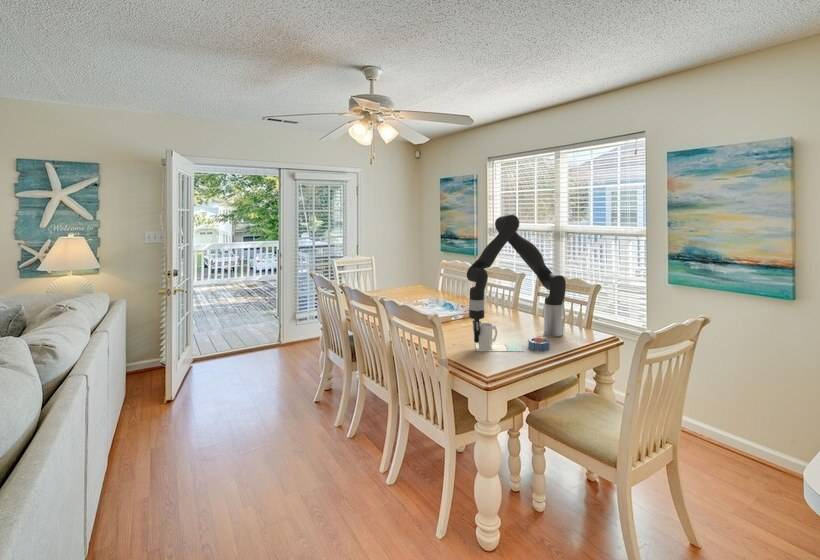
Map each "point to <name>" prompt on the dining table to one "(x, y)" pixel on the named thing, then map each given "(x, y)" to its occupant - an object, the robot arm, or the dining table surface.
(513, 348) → the board
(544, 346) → the blue ribbed round dish
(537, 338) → the dome button
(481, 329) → the mug
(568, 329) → the dining table surface
